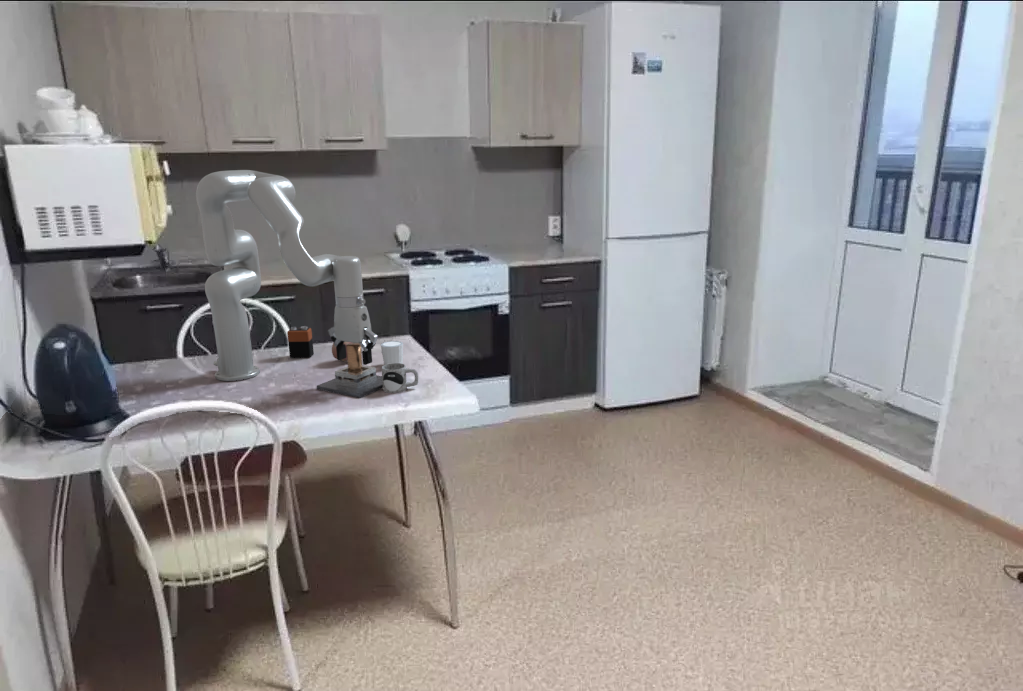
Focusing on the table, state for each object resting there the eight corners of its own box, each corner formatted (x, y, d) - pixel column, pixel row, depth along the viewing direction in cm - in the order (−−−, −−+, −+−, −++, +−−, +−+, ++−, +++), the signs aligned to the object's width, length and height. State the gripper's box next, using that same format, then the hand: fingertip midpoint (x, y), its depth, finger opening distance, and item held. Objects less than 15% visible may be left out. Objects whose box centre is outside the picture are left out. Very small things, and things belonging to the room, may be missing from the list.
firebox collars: (316, 389, 199) (315, 372, 198) (353, 374, 212) (352, 358, 210) (360, 398, 191) (358, 381, 190) (395, 382, 204) (394, 366, 202)
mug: (381, 393, 195) (379, 370, 193) (384, 385, 201) (383, 363, 199) (417, 392, 195) (416, 369, 193) (420, 384, 201) (418, 362, 200)
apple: (354, 365, 220) (352, 340, 218) (330, 365, 220) (328, 341, 218) (360, 358, 228) (358, 334, 226) (336, 358, 228) (334, 334, 226)
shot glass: (405, 361, 223) (404, 340, 221) (403, 368, 216) (401, 346, 214) (383, 362, 223) (382, 340, 221) (380, 369, 216) (379, 347, 214)
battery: (310, 358, 228) (307, 328, 226) (289, 358, 228) (286, 328, 226) (314, 354, 233) (311, 325, 230) (293, 354, 233) (290, 325, 230)
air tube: (356, 378, 204) (354, 341, 201) (367, 380, 202) (364, 343, 199) (345, 382, 200) (343, 345, 198) (356, 384, 198) (354, 346, 196)
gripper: (383, 301, 194) (387, 361, 198) (335, 296, 202) (341, 354, 207) (364, 307, 187) (369, 369, 192) (316, 301, 196) (322, 360, 201)
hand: (354, 361), depth 199 cm, fingers open, 9 cm apart
